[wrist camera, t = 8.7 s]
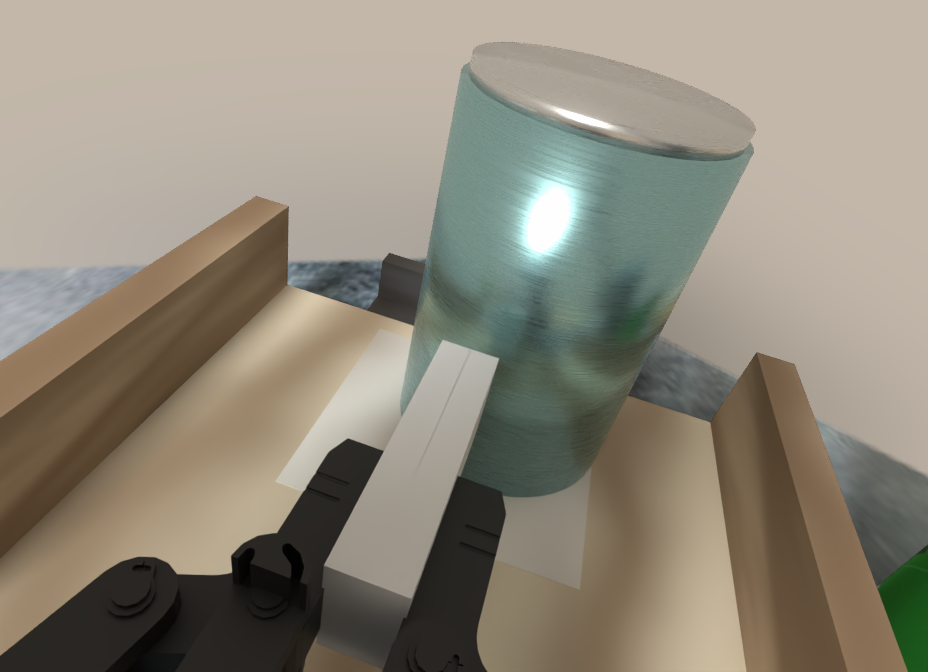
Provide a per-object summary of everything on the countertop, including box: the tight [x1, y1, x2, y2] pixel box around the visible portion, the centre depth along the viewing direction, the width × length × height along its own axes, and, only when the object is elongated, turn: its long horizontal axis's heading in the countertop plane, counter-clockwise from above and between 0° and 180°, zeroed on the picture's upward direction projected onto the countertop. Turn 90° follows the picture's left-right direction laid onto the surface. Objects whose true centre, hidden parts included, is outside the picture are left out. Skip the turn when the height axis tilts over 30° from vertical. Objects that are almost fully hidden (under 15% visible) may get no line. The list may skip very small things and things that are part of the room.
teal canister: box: [400, 42, 756, 498], centre depth 19 cm, size 8×8×12 cm
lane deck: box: [0, 196, 908, 672], centre depth 20 cm, size 23×24×6 cm
